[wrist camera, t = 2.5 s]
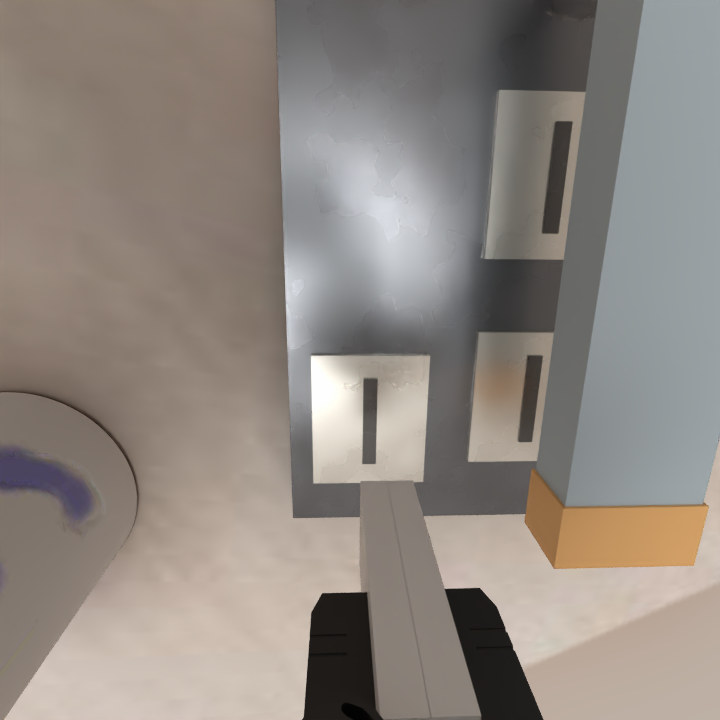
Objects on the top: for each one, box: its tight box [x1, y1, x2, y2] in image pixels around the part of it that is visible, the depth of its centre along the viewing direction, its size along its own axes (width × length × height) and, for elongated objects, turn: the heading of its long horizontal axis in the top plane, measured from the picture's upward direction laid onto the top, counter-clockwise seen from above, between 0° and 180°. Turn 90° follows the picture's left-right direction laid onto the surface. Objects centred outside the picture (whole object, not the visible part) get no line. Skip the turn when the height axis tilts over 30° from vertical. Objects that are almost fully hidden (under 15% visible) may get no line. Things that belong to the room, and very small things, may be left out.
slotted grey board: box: [275, 0, 598, 518], centre depth 19 cm, size 24×15×2 cm, turn 179°
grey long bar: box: [525, 0, 720, 569], centre depth 12 cm, size 21×4×2 cm, turn 179°
